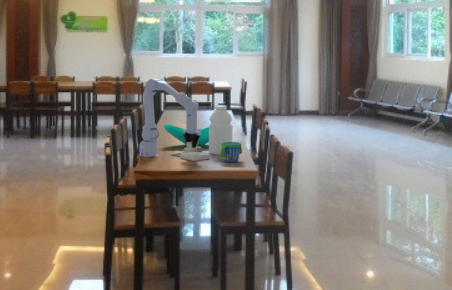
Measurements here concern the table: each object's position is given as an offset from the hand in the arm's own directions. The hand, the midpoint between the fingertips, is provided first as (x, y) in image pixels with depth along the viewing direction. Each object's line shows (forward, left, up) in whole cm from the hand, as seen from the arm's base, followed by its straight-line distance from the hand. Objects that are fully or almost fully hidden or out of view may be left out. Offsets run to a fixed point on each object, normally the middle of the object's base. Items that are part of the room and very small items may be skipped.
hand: (191, 147), depth 360 cm
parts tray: (+7, +12, -7) cm, 15 cm away
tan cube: (+13, +12, -7) cm, 19 cm away
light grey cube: (+7, +12, -7) cm, 15 cm away
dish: (+2, 0, -7) cm, 7 cm away
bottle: (+27, +7, -7) cm, 29 cm away
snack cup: (+13, -18, -7) cm, 24 cm away
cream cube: (0, 0, -1) cm, 1 cm away
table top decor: (+33, +38, -7) cm, 51 cm away
